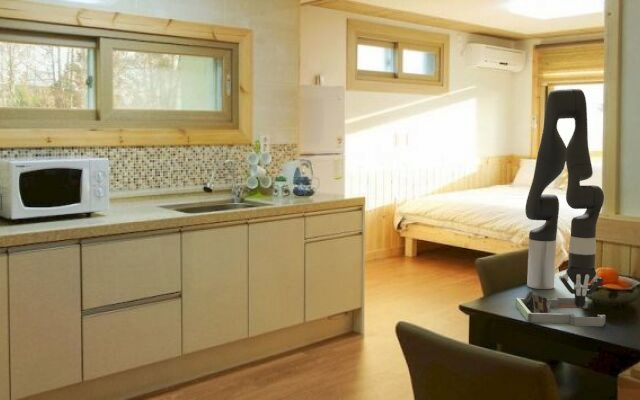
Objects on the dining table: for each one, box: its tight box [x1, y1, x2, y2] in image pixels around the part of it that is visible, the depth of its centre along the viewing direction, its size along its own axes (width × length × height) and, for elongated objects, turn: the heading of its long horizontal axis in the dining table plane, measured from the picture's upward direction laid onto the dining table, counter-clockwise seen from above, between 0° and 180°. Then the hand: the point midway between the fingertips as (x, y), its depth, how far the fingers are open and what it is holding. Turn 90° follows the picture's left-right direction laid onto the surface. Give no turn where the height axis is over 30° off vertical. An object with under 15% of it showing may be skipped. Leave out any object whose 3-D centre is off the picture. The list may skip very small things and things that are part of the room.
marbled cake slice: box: [524, 287, 552, 313], centre depth 208 cm, size 10×7×12 cm
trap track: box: [515, 296, 606, 327], centre depth 207 cm, size 23×22×2 cm
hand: (579, 307), depth 206 cm, fingers closed
